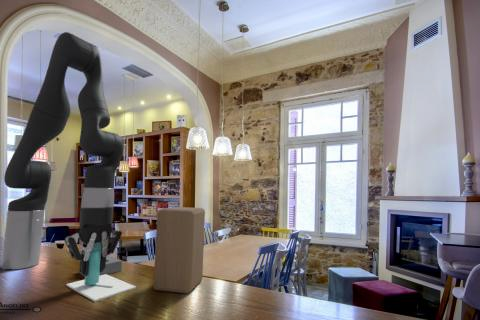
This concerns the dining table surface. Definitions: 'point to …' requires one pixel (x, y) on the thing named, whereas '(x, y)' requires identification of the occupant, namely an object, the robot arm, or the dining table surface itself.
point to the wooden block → (179, 249)
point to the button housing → (112, 266)
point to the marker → (94, 264)
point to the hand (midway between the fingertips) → (92, 273)
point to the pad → (101, 287)
